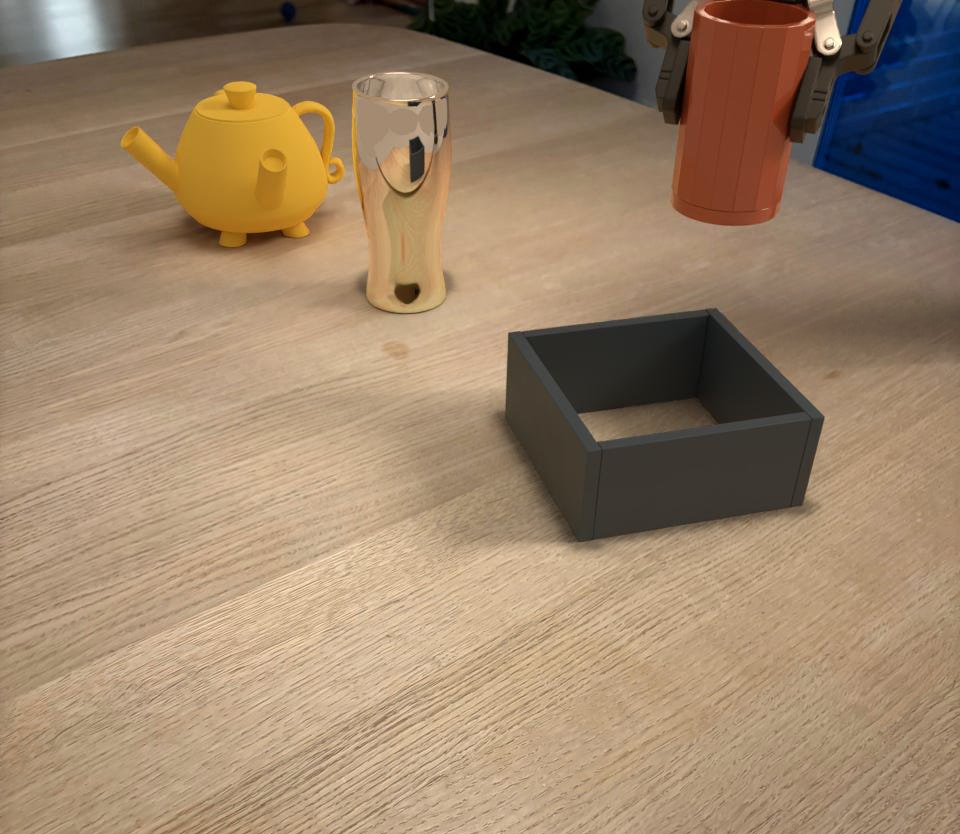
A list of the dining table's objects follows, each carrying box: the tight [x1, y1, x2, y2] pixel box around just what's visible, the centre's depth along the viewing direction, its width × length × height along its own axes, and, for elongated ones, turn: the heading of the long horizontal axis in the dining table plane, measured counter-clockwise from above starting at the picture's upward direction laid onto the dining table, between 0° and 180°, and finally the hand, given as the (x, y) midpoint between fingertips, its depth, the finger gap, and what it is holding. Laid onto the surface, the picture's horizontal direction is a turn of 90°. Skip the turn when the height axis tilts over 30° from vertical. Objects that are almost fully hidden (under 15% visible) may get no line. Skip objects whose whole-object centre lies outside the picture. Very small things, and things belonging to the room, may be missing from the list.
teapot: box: [120, 80, 345, 248], centre depth 91 cm, size 14×14×11 cm
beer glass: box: [351, 71, 453, 314], centre depth 81 cm, size 7×7×15 cm
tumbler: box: [670, 0, 817, 227], centre depth 61 cm, size 6×6×10 cm
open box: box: [504, 307, 826, 543], centre depth 66 cm, size 14×14×7 cm
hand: (732, 125), depth 60 cm, fingers closed on tumbler, 6 cm apart
